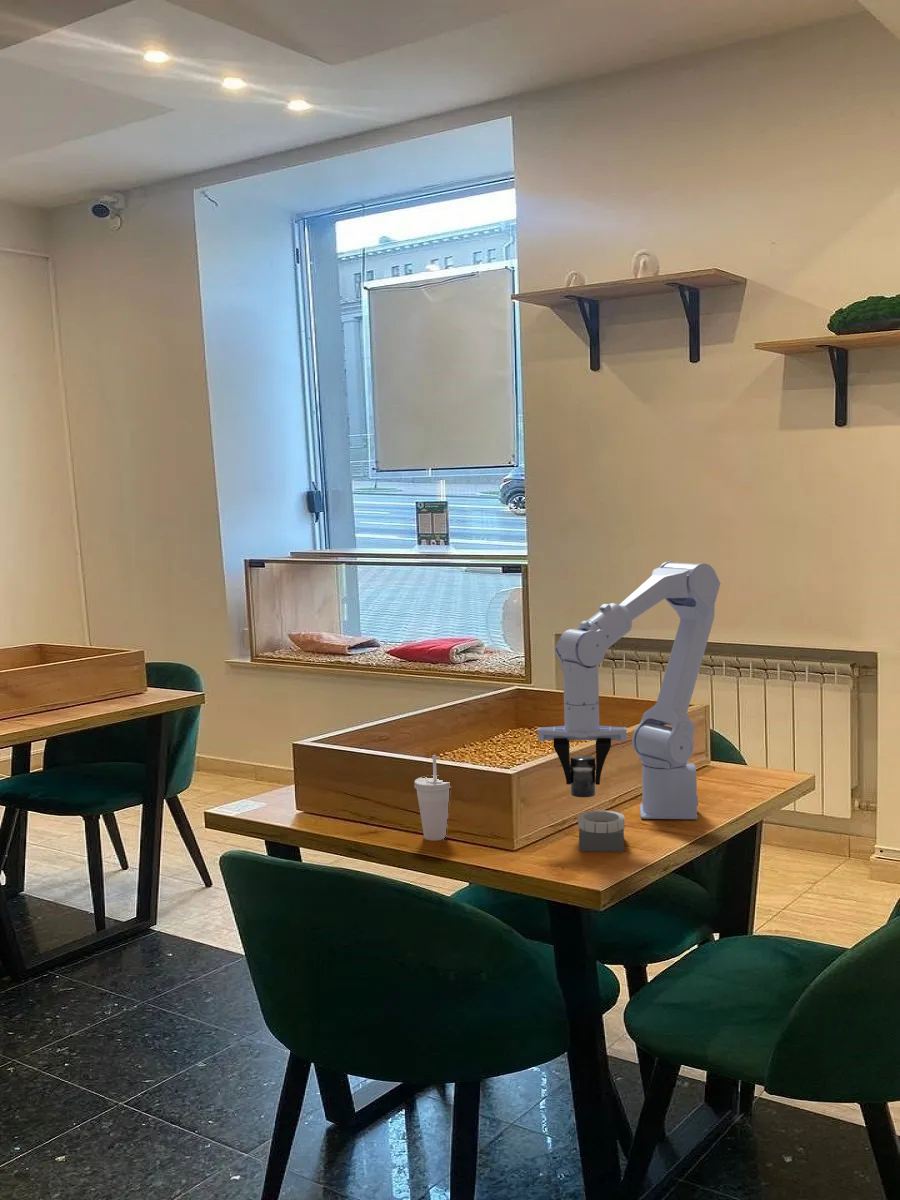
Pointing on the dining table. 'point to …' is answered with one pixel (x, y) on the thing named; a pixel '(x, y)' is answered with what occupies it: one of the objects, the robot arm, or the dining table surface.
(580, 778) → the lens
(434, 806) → the smoothie
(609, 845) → the block with notched collar
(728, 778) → the dining table surface
